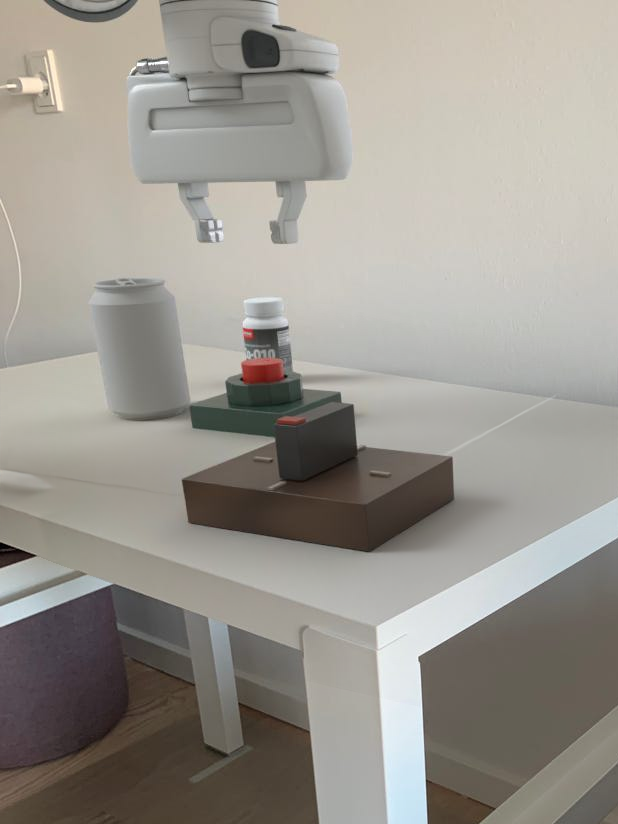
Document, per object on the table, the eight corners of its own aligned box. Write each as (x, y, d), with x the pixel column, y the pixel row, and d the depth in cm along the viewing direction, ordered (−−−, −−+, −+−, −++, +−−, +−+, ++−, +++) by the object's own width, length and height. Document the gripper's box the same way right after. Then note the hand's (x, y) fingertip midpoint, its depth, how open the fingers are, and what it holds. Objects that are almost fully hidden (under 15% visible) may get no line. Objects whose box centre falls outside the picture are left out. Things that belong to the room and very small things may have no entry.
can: (130, 427, 90) (104, 286, 85) (97, 413, 95) (71, 280, 90) (206, 412, 94) (186, 278, 89) (170, 400, 100) (150, 272, 94)
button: (235, 384, 88) (232, 363, 87) (260, 376, 91) (258, 356, 90) (268, 386, 86) (265, 366, 86) (292, 378, 89) (290, 358, 89)
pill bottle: (240, 385, 106) (229, 302, 102) (264, 376, 110) (254, 296, 106) (279, 387, 104) (270, 303, 100) (302, 378, 108) (294, 296, 104)
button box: (192, 429, 89) (185, 383, 87) (255, 407, 96) (250, 364, 94) (284, 439, 85) (278, 391, 83) (343, 415, 92) (339, 371, 90)
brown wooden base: (188, 522, 66) (180, 476, 64) (288, 477, 75) (283, 435, 73) (369, 552, 60) (365, 501, 59) (454, 499, 69) (452, 453, 67)
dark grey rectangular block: (335, 452, 69) (330, 398, 67) (358, 455, 68) (353, 400, 67) (279, 478, 64) (272, 420, 62) (302, 481, 63) (296, 422, 61)
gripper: (95, 57, 79) (126, 244, 85) (308, 38, 71) (326, 247, 77) (151, 62, 84) (177, 238, 90) (356, 45, 76) (370, 241, 82)
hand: (247, 243), depth 84 cm, fingers open, 6 cm apart
